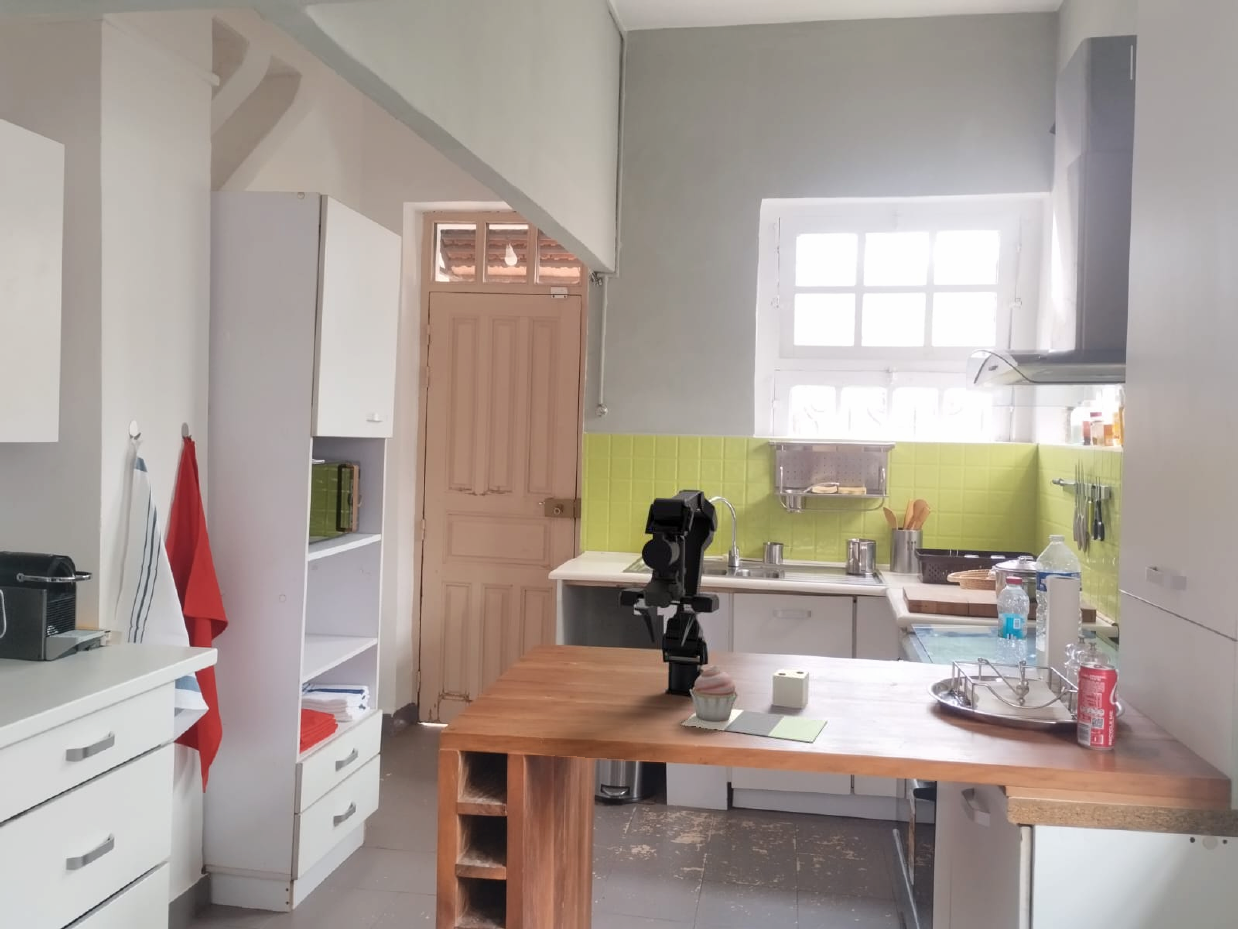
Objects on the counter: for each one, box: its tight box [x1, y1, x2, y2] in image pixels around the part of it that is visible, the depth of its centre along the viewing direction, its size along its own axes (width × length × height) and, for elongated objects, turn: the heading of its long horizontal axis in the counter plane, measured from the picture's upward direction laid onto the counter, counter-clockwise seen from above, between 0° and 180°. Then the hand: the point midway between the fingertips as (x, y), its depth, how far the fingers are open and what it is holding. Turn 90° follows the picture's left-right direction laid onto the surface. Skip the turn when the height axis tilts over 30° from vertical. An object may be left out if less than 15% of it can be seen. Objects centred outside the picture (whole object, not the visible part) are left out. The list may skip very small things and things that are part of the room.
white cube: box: [771, 668, 810, 709], centre depth 196 cm, size 6×6×6 cm
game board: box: [681, 708, 828, 744], centre depth 181 cm, size 24×14×1 cm, turn 68°
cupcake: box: [690, 664, 740, 721], centre depth 184 cm, size 9×9×10 cm
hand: (667, 644), depth 187 cm, fingers open, 5 cm apart
